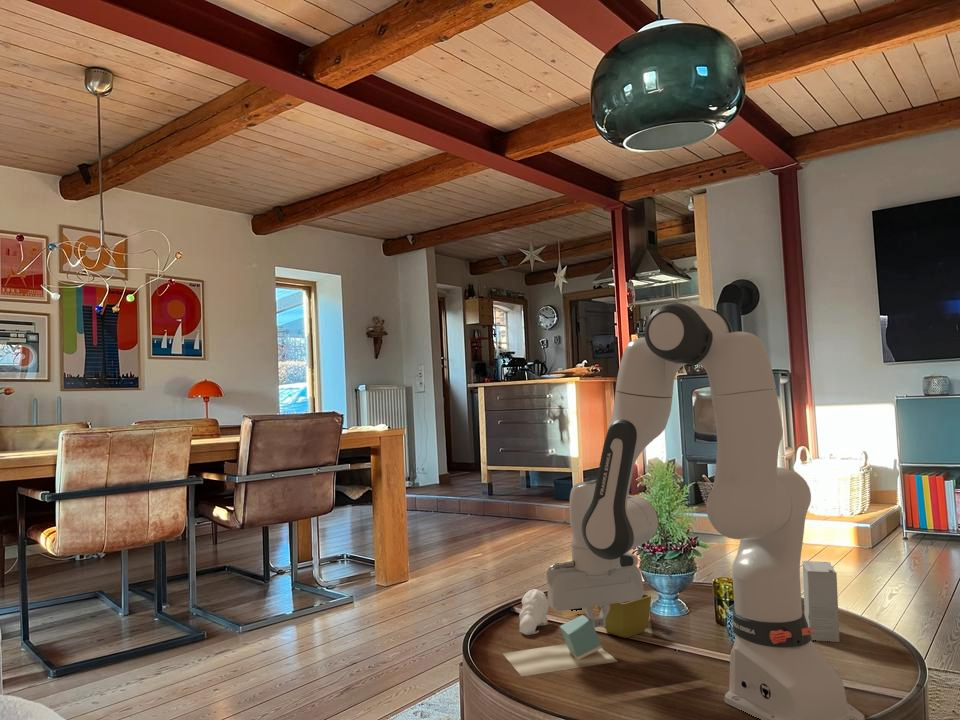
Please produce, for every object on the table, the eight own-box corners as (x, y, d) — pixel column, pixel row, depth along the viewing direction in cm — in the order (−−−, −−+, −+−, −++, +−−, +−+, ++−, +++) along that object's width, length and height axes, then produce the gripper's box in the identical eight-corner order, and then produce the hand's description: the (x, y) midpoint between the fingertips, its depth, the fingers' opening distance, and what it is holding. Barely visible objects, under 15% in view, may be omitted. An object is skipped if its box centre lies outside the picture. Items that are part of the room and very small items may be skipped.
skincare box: (804, 628, 157) (799, 560, 158) (834, 629, 155) (829, 560, 156) (810, 641, 149) (805, 569, 150) (842, 643, 147) (837, 570, 148)
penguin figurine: (549, 586, 169) (537, 607, 157) (551, 622, 169) (540, 645, 158) (523, 586, 171) (510, 605, 159) (525, 621, 171) (513, 643, 160)
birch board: (618, 666, 141) (618, 661, 141) (522, 681, 136) (521, 676, 136) (591, 644, 154) (591, 640, 154) (502, 658, 149) (502, 653, 149)
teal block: (602, 647, 144) (592, 622, 144) (578, 660, 143) (568, 634, 143) (592, 639, 149) (582, 614, 149) (569, 650, 148) (559, 626, 148)
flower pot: (654, 636, 157) (652, 595, 157) (626, 646, 152) (623, 603, 152) (625, 627, 164) (623, 587, 165) (597, 635, 159) (595, 595, 160)
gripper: (551, 567, 142) (555, 638, 142) (644, 556, 148) (649, 624, 147) (541, 561, 148) (544, 628, 148) (630, 550, 154) (635, 615, 153)
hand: (597, 626), depth 147 cm, fingers closed
